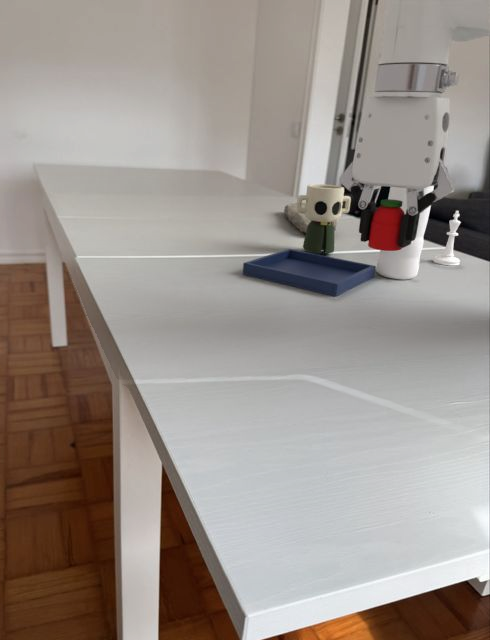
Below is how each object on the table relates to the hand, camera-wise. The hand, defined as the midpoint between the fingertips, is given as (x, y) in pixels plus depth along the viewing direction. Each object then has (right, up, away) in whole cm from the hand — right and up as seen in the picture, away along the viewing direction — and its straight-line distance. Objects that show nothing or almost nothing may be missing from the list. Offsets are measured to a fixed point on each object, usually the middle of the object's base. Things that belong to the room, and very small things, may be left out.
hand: (385, 241), depth 70 cm
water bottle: (+11, -1, +28) cm, 30 cm away
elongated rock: (+2, +18, +69) cm, 72 cm away
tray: (-5, -1, +25) cm, 25 cm away
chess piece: (+24, +3, +38) cm, 45 cm away
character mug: (-1, +6, +41) cm, 42 cm away
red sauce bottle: (0, -1, 0) cm, 1 cm away
